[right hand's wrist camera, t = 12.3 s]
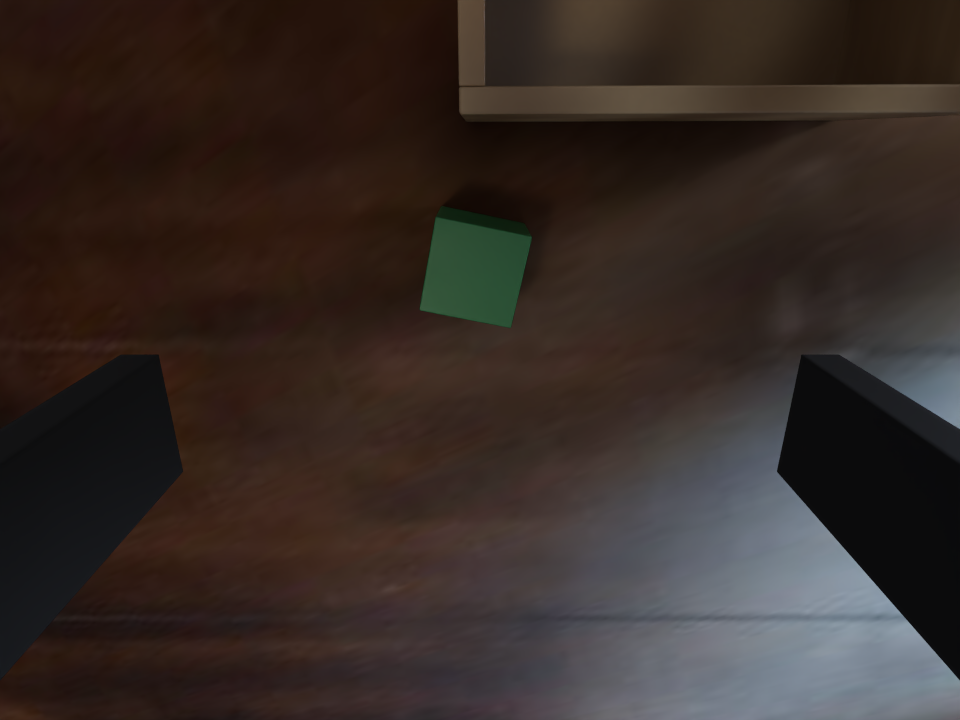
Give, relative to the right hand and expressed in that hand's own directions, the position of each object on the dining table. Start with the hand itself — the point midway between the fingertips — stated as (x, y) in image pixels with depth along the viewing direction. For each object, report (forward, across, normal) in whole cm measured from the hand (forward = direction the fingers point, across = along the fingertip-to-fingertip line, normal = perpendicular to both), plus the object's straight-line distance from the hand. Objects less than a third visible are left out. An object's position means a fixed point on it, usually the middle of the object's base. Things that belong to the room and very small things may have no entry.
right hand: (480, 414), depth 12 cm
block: (+18, 0, 0) cm, 18 cm away
